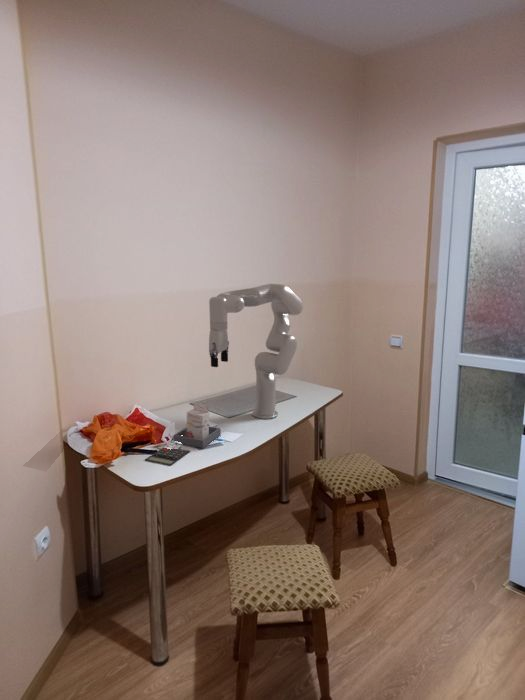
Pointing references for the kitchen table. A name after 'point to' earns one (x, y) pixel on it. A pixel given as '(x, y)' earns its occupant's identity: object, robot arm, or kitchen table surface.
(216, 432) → the desk tray
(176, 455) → the calculator
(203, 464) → the kitchen table surface
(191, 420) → the ink cartridge box
